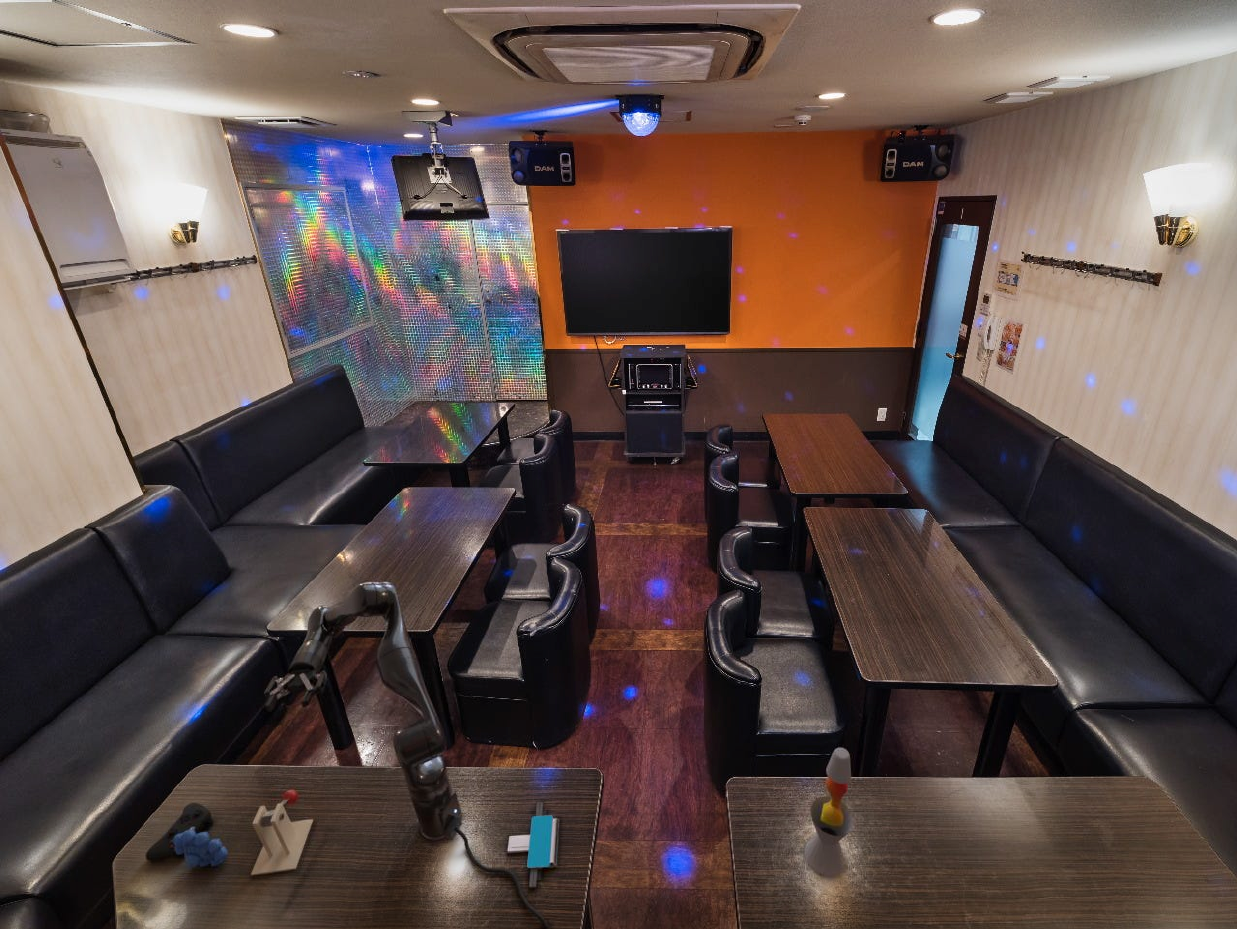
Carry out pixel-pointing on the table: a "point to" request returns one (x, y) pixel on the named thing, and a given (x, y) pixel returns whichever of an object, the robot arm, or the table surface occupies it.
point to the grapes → (199, 848)
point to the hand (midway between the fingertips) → (286, 707)
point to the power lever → (287, 800)
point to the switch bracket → (279, 841)
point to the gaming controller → (180, 831)
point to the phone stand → (538, 844)
